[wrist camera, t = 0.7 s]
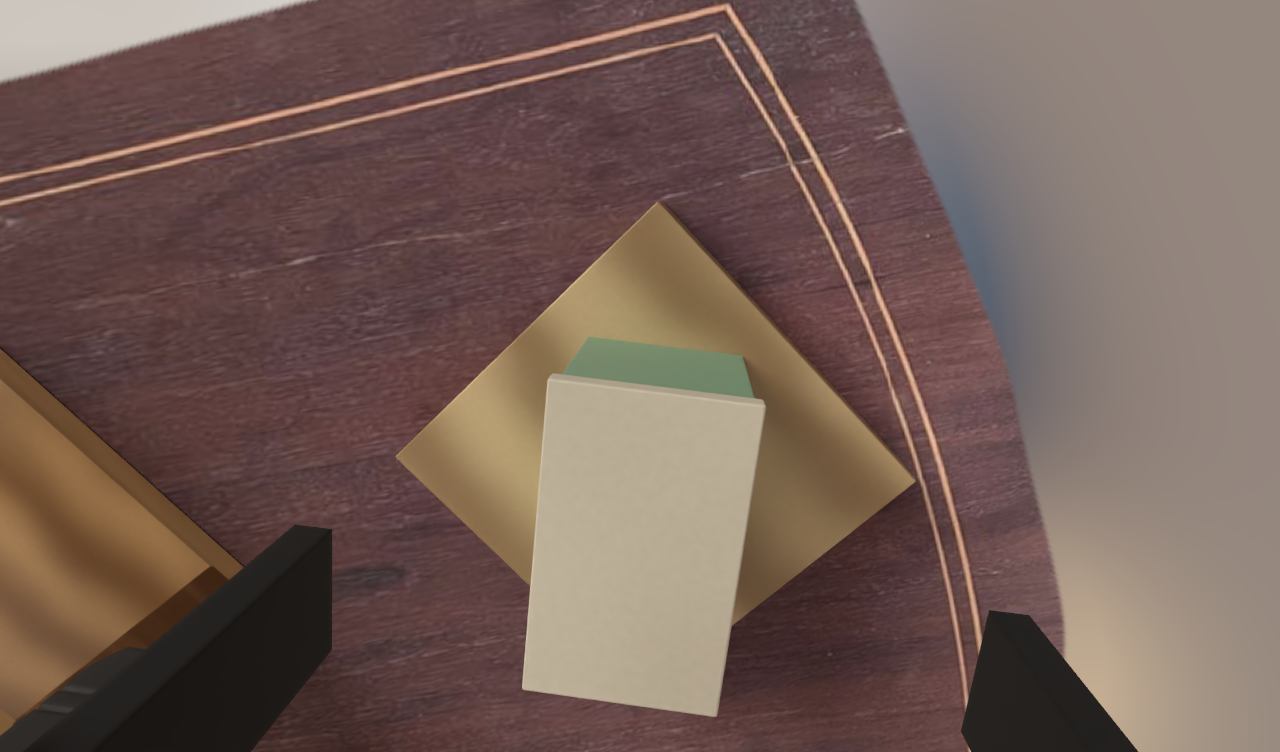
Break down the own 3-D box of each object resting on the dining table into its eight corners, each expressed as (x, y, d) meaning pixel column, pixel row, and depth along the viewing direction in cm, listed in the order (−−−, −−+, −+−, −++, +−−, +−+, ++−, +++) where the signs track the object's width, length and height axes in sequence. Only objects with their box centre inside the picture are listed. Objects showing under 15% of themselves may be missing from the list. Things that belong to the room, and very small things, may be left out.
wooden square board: (660, 199, 33) (657, 200, 30) (898, 457, 35) (917, 481, 32) (418, 435, 36) (394, 457, 34) (647, 657, 38) (643, 696, 36)
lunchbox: (583, 330, 32) (547, 378, 24) (748, 350, 31) (766, 406, 24) (560, 576, 34) (521, 690, 27) (711, 597, 34) (717, 718, 26)
